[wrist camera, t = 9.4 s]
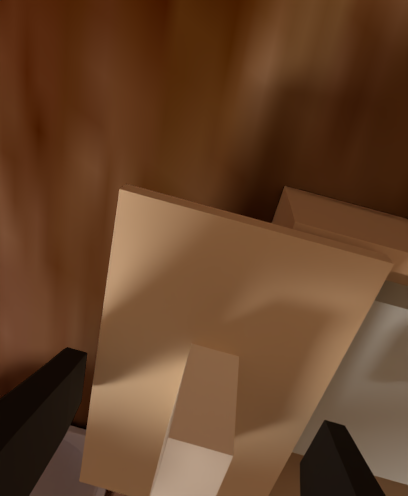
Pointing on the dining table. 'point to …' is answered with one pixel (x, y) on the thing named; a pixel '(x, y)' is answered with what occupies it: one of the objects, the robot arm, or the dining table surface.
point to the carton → (361, 344)
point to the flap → (215, 346)
